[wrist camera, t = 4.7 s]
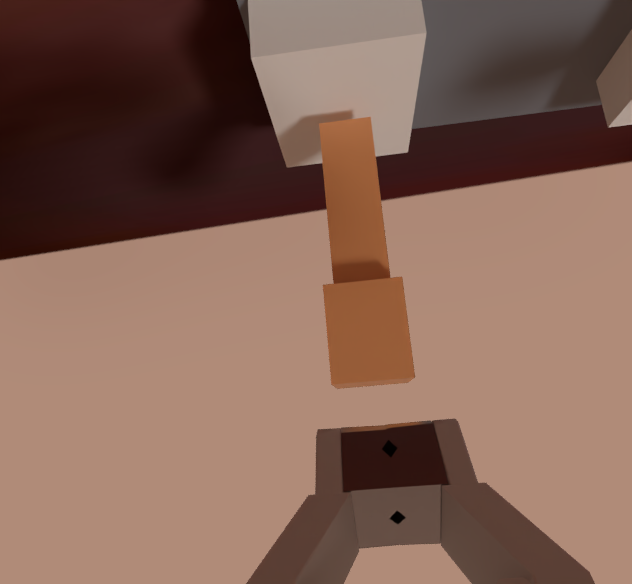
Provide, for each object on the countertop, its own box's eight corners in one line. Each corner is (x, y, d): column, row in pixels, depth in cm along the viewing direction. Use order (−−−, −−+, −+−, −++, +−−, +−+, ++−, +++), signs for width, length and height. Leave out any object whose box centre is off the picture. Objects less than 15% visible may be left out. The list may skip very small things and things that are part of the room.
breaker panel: (960, -249, 16) (1040, -116, 15) (691, 49, 30) (719, 135, 28) (215, -119, 18) (220, 9, 17) (279, 105, 32) (285, 187, 30)
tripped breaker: (379, 103, 21) (415, 377, 18) (377, 146, 25) (407, 382, 22) (308, 113, 22) (331, 384, 19) (316, 154, 25) (337, 388, 22)
